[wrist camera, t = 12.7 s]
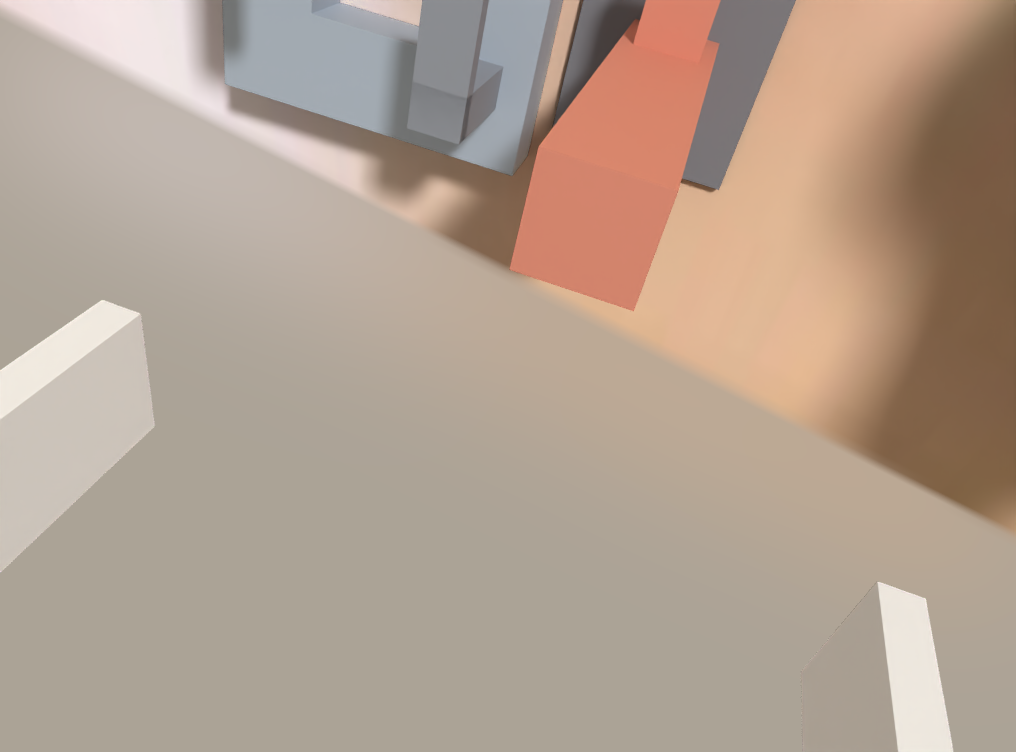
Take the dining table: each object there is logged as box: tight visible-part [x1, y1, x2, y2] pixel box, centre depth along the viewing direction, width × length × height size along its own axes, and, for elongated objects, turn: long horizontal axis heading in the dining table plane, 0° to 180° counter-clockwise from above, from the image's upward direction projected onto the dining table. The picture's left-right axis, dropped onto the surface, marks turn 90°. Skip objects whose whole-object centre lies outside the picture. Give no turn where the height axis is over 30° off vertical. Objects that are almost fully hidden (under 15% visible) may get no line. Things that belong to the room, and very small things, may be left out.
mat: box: [552, 0, 796, 190], centre depth 36 cm, size 9×9×1 cm
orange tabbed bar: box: [509, 0, 721, 311], centre depth 29 cm, size 12×4×18 cm, turn 168°
